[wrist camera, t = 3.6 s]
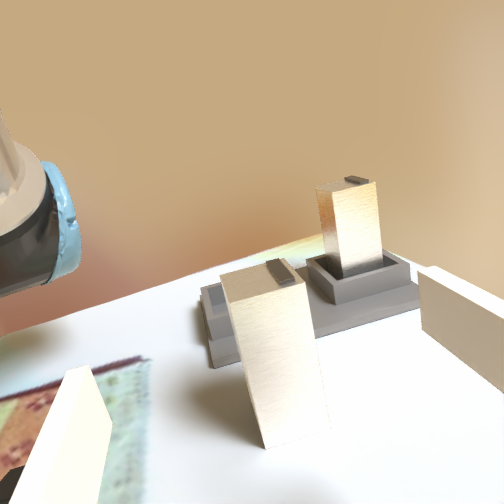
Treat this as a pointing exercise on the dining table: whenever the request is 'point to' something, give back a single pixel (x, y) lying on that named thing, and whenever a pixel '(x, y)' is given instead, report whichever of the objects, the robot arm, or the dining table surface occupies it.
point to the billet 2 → (350, 226)
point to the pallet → (322, 302)
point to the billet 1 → (277, 350)
